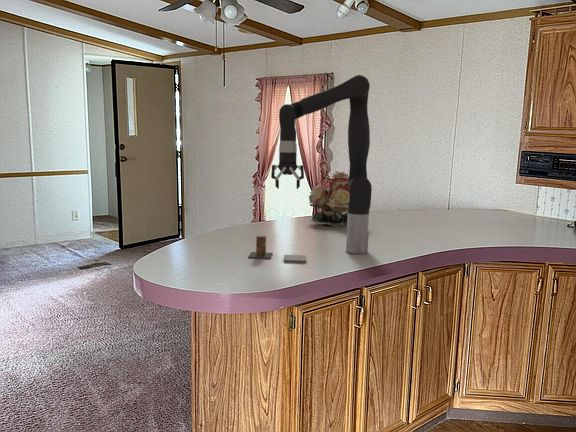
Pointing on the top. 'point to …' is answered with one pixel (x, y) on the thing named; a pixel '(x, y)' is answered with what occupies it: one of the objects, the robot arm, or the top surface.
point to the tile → (295, 258)
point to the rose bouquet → (332, 201)
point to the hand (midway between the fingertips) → (287, 188)
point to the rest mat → (267, 256)
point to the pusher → (260, 245)
